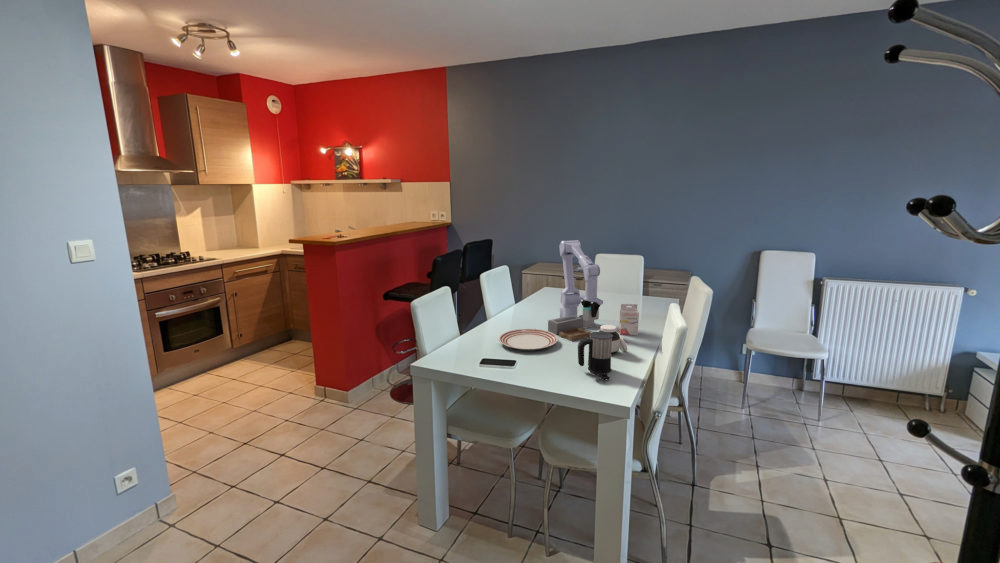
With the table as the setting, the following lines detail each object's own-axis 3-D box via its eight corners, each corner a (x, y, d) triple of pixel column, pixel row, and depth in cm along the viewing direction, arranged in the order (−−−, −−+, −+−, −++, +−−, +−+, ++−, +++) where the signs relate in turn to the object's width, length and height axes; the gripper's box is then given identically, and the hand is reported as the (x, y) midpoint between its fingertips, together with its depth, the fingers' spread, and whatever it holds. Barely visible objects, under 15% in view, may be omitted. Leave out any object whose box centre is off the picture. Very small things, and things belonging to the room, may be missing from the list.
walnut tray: (559, 336, 232) (559, 331, 232) (577, 331, 239) (577, 327, 238) (571, 341, 225) (571, 336, 224) (590, 336, 231) (590, 332, 231)
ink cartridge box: (620, 334, 233) (621, 306, 230) (618, 331, 238) (620, 303, 235) (638, 335, 232) (639, 306, 229) (636, 332, 237) (637, 303, 234)
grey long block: (547, 331, 240) (547, 319, 238) (573, 326, 249) (573, 314, 247) (556, 335, 234) (557, 323, 232) (582, 329, 243) (582, 317, 241)
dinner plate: (554, 356, 206) (554, 348, 205) (493, 352, 212) (493, 345, 211) (559, 336, 232) (559, 330, 232) (505, 333, 238) (505, 327, 237)
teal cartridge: (582, 319, 235) (582, 307, 234) (592, 317, 238) (593, 305, 237) (588, 321, 231) (588, 309, 230) (598, 319, 235) (598, 307, 234)
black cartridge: (578, 326, 248) (579, 315, 247) (588, 324, 252) (589, 313, 250) (584, 328, 245) (584, 317, 243) (594, 326, 248) (594, 315, 247)
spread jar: (592, 351, 211) (593, 326, 209) (608, 345, 218) (609, 321, 216) (615, 358, 202) (616, 332, 200) (630, 352, 209) (632, 327, 207)
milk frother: (601, 364, 196) (602, 329, 193) (628, 377, 182) (629, 340, 179) (573, 370, 189) (574, 335, 186) (598, 384, 175) (599, 347, 172)
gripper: (575, 287, 236) (574, 314, 238) (595, 292, 224) (595, 320, 226) (585, 285, 239) (584, 311, 242) (606, 291, 228) (605, 318, 230)
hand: (590, 315), depth 235 cm, fingers closed on teal cartridge, 4 cm apart
